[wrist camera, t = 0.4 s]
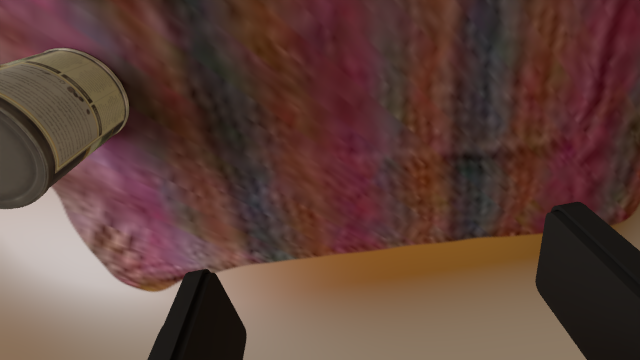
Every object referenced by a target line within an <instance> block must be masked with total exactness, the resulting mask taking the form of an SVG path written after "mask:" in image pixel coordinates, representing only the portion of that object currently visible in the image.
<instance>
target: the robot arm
mask: <svg viewBox="0 0 640 360" xmlns="http://www.w3.org/2000/svg"><path fill="white" fill-rule="evenodd" d="M536 286H537V289H538V291H539V293H540V295H541V296H542V298H543V299H544V300H545V302H546V303H547V305H548V306H549V307H550V309H551V310H552V312H553V313H554V314H555V316H556V317H557V319H558V320H559V321H560V323H561V324H562V326H563V327H564V328H565V330H566V331H567V333H568V334H569V335H570V337H571V338H572V339H573V341H574V342H575V344H576V345H577V346H578V348H579V349H580V351H581V352H582V353H583V355H584V356H585V358H586V359H587V360H640V251H639V250H638V249H637V248H635V247H634V246H633V245H632V244H631V243H630V242H628V241H627V240H626V239H625V238H623V237H622V236H621V235H620V234H619V233H618V232H616V231H615V230H614V229H613V228H612V227H611V226H609V225H608V224H607V223H606V222H605V221H603V220H602V219H601V218H600V217H599V216H597V215H596V214H595V213H594V212H593V211H591V210H590V209H589V208H588V207H587V206H586V205H584V204H583V203H581V202H574V203H569V204H563V205H558V206H554V207H553V208H552V210H551V212H550V213H547V215H546V218H545V224H544V231H543V237H542V243H541V249H540V256H539V262H538V268H537V274H536ZM245 344H246V329H245V327H244V325H243V323H242V321H241V319H240V318H239V316H238V314H237V312H236V310H235V308H234V306H233V305H232V303H231V301H230V299H229V297H228V295H227V293H226V292H225V290H224V288H223V286H222V284H221V282H220V280H219V279H218V277H217V275H216V274H215V273H211V272H210V271H209V270H208V269H204V270H198V271H193V272H188V273H186V274H185V276H184V278H183V281H182V283H181V285H180V288H179V290H178V292H177V295H176V297H175V299H174V302H173V304H172V306H171V309H170V311H169V314H168V316H167V318H166V321H165V323H164V325H163V327H162V328H161V330H160V332H159V334H158V336H157V339H156V341H155V343H154V346H153V348H152V350H151V353H150V355H149V357H148V360H243V355H244V350H245Z"/></svg>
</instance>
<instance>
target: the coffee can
mask: <svg viewBox="0 0 640 360" xmlns="http://www.w3.org/2000/svg"><path fill="white" fill-rule="evenodd" d="M128 115H129V103H128V98H127V95H126V92H125V90H124V88H123V86H122V84H121V82H120V81H119V79H118V78H117V77H116V76H115V74H114V73H113V72H112V71H111V70H110V69H109V68H108V67H107V66H106V65H105V64H103V63H102V62H101V61H99V60H98V59H96V58H94V57H92V56H90V55H88V54H87V53H84V52H81V51H78V50H74V49H69V48H56V49H51V50H47V51H45V52H44V53H41V54H37V55H34V56H30V57H27V58H23V59H20V60H16V61H13V62H9V63H6V64H2V65H0V209H13V208H20V207H24V206H27V205H29V204H31V203H33V202H35V201H36V200H38V199H39V198H40V197H41V196H43V194H45V193H46V191H47V190H48V189H49V188H50V187H51V186H52V185H53V184H55V183H56V182H57V181H58V180H60V179H61V178H62V177H63V176H64V175H66V174H67V173H68V172H69V171H71V170H72V169H73V168H74V167H75V166H77V165H78V164H79V163H80V162H81V161H83V160H84V159H85V158H86V157H88V156H89V155H90V154H91V153H92V152H94V151H95V150H96V149H97V148H99V147H100V146H101V145H102V144H104V143H105V142H106V141H107V140H109V139H110V138H111V137H112V136H114V135H115V134H117V133H118V132H119V131H120V130H121V129H122V128H123V127H124V125H125V124H126V122H127V119H128Z"/></svg>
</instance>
